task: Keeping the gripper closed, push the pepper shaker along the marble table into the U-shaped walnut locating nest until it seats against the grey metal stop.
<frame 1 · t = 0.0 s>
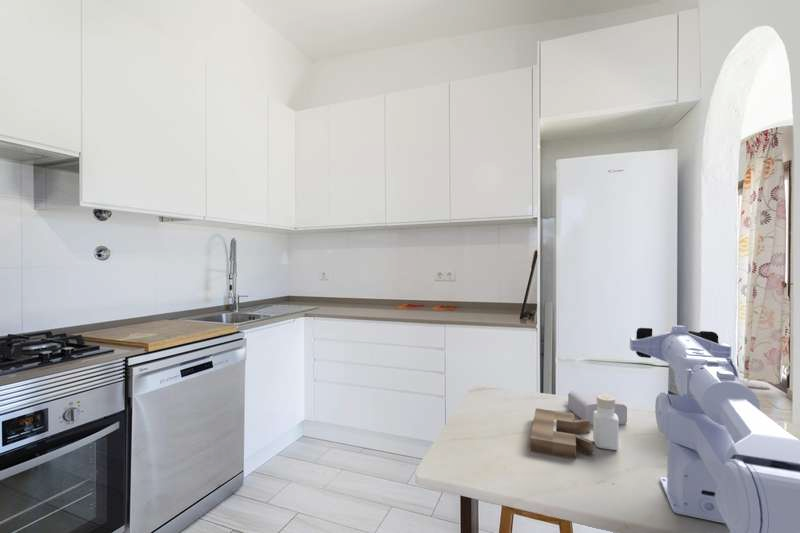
hand: (666, 334, 76), 22 cm above the table, tool horizontal, fingers open, 7 cm apart
locating nest: (553, 436, 80), on the table
pepper shaker: (605, 446, 76), on the table
charger: (589, 413, 94), on the table
coffee box: (697, 429, 84), on the table
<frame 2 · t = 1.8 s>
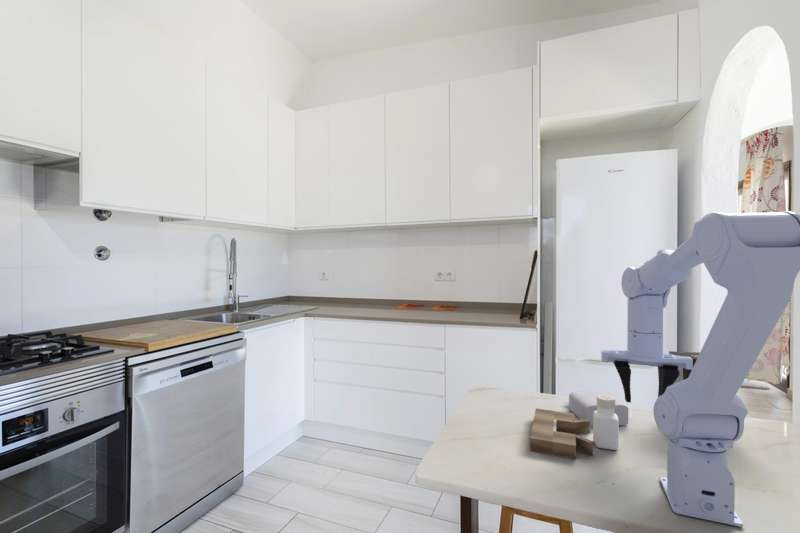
hand: (644, 402, 74), 9 cm above the table, tool pointing down, fingers open, 5 cm apart
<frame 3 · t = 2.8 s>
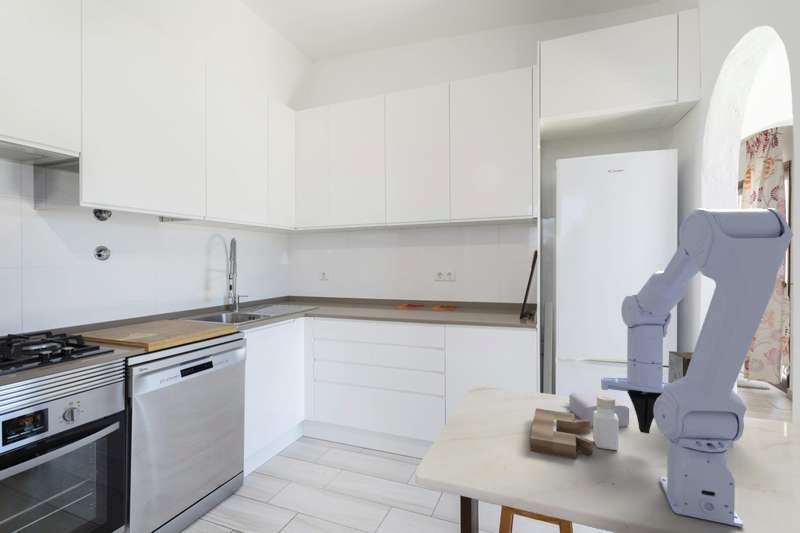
hand: (643, 430, 74), 4 cm above the table, tool pointing down, fingers closed
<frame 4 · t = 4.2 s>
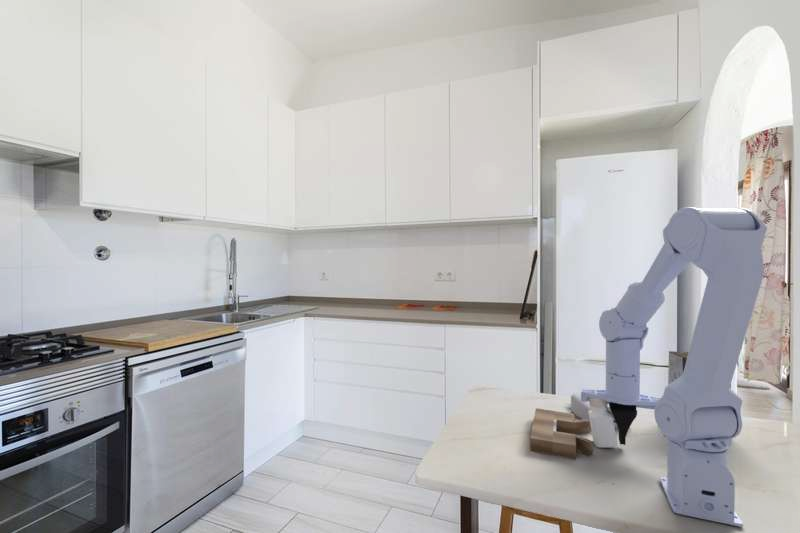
hand: (621, 442, 75), 1 cm above the table, tool pointing down, fingers closed
pepper shaker: (605, 445, 76), on the table, touching gripper
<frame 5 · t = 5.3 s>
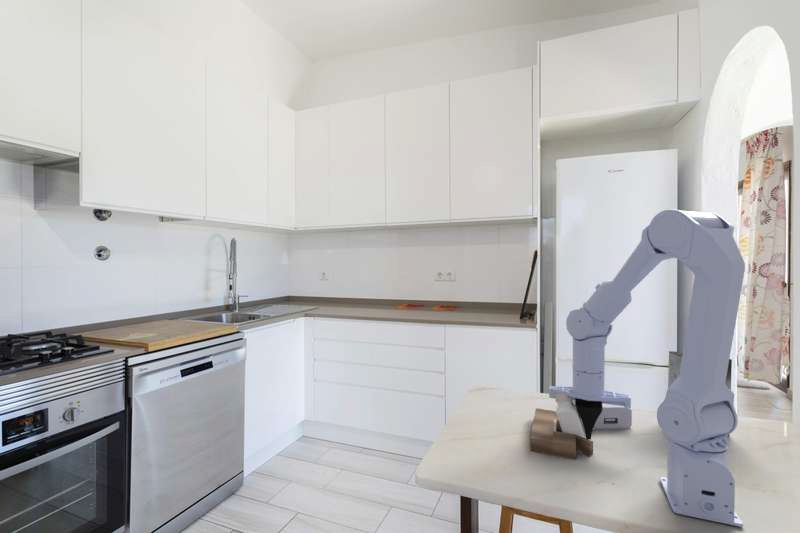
hand: (588, 437, 78), 1 cm above the table, tool pointing down, fingers closed, pressing on pepper shaker
pepper shaker: (575, 438, 78), on the table, touching gripper
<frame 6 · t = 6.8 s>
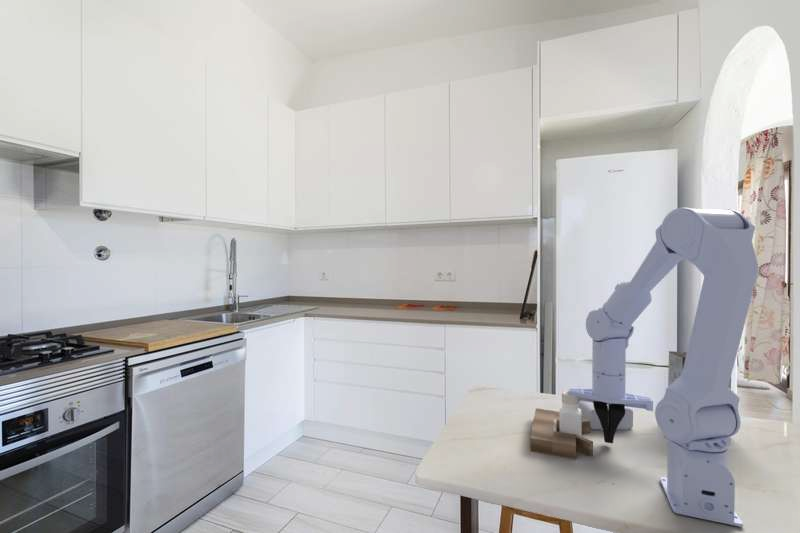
hand: (608, 440, 76), 1 cm above the table, tool pointing down, fingers closed
pepper shaker: (570, 440, 79), on the table
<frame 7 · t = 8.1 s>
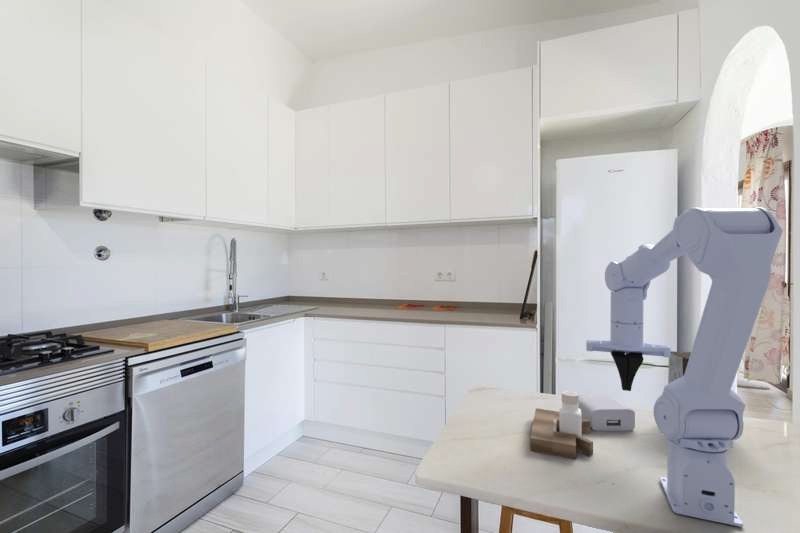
hand: (626, 389, 78), 10 cm above the table, tool pointing down, fingers closed
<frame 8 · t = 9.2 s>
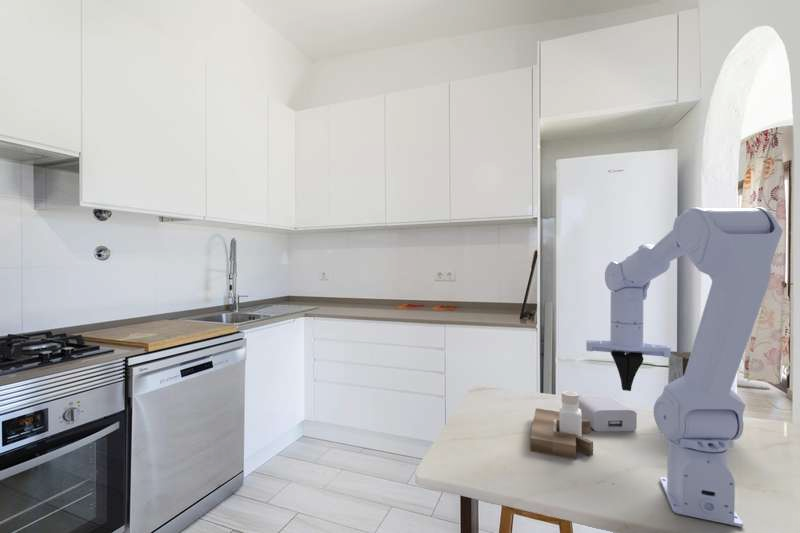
hand: (626, 389, 78), 10 cm above the table, tool pointing down, fingers closed
at the end: pepper shaker 0.5 cm from the target spot on the locating nest, point 0.0 cm above the locating nest's base; pepper shaker tilted 0°; pepper shaker moved 6.4 cm from its start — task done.
